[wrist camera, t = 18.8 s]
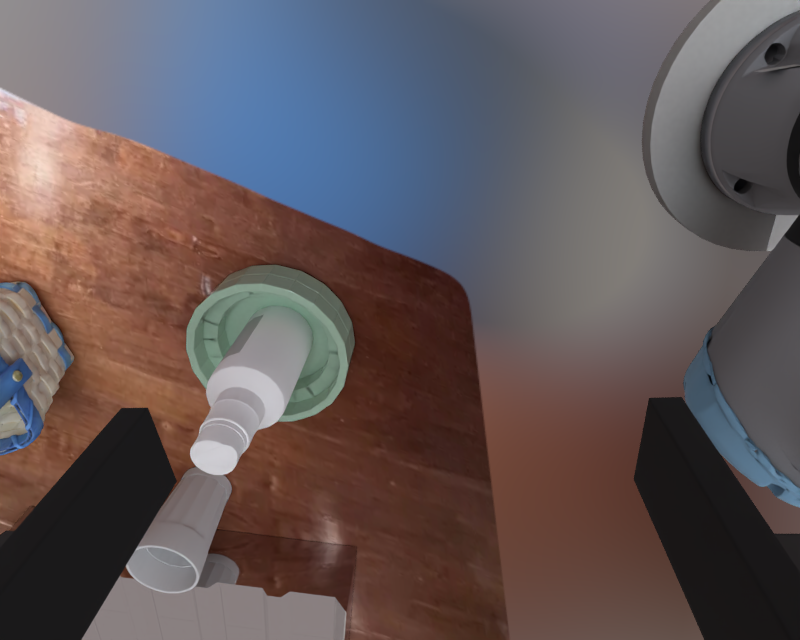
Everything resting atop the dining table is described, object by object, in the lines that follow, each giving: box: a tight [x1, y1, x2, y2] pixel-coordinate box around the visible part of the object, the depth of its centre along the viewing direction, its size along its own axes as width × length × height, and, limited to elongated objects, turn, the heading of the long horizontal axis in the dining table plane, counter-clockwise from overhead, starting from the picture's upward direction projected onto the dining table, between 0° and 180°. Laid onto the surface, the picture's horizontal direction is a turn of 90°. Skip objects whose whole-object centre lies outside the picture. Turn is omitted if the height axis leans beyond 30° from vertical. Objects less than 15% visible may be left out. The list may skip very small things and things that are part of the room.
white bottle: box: [190, 306, 313, 475], centre depth 45 cm, size 7×7×18 cm
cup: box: [126, 467, 232, 593], centre depth 60 cm, size 8×8×12 cm
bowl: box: [186, 265, 355, 422], centre depth 51 cm, size 16×16×5 cm
